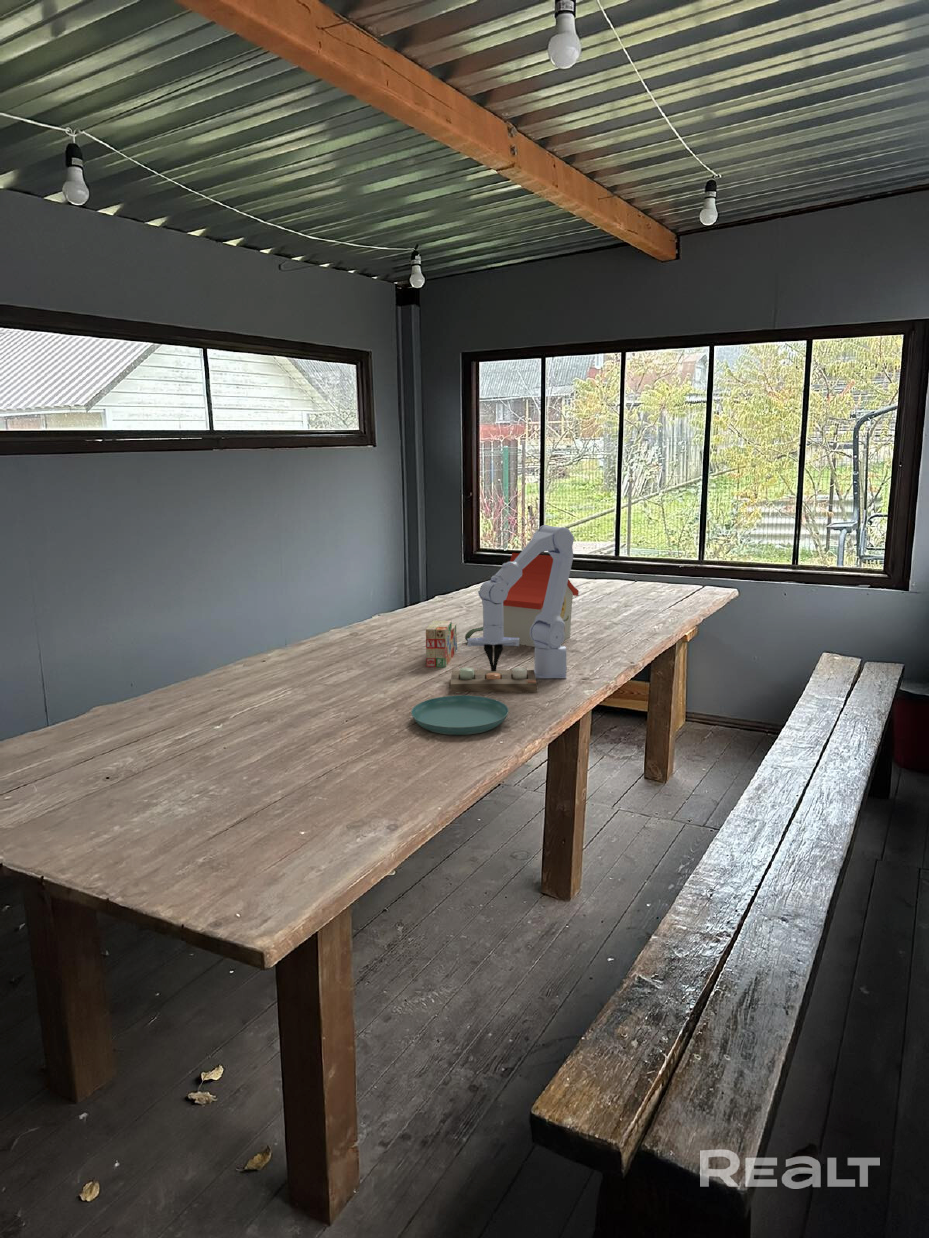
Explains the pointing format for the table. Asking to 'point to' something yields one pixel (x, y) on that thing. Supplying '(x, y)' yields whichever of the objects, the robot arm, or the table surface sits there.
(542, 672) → the robot arm
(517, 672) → the cream button
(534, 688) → the panel
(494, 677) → the terracotta button
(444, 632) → the stack of blocks
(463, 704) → the saucer
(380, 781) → the table surface
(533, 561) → the birdhouse
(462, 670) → the sage button
